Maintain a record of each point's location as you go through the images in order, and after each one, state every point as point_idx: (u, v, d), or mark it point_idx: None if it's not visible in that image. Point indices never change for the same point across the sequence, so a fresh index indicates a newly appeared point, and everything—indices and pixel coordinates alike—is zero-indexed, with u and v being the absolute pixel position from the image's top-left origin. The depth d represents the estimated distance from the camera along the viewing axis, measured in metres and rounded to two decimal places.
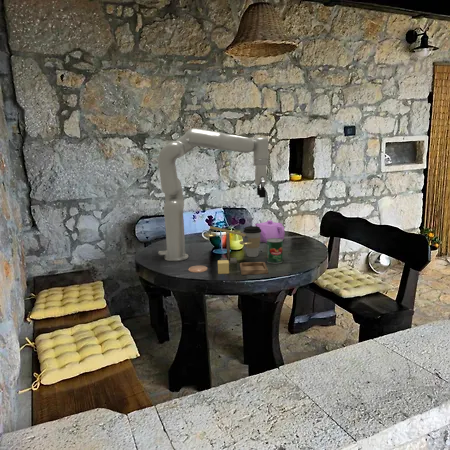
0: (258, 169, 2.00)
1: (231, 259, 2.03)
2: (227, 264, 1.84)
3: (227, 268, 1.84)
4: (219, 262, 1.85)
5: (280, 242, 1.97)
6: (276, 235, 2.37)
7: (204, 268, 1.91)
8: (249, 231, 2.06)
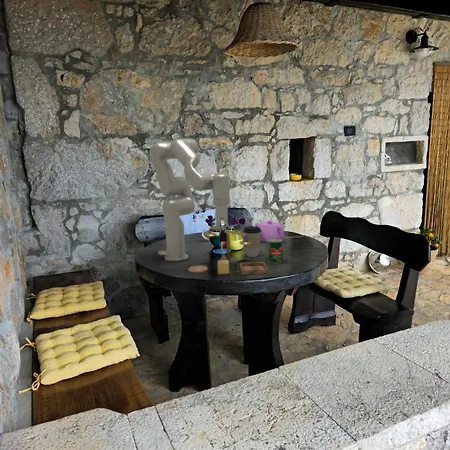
0: (217, 210, 1.77)
1: (231, 259, 2.03)
2: (227, 264, 1.84)
3: (227, 268, 1.84)
4: (219, 262, 1.85)
5: (280, 242, 1.97)
6: (276, 235, 2.37)
7: (204, 268, 1.91)
8: (249, 231, 2.06)
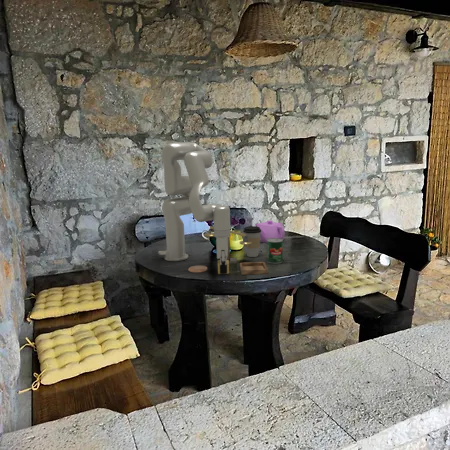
0: (218, 242, 1.80)
1: (231, 259, 2.03)
2: (227, 264, 1.84)
3: (227, 268, 1.84)
4: (219, 262, 1.85)
5: (280, 242, 1.97)
6: (276, 235, 2.37)
7: (204, 268, 1.91)
8: (249, 231, 2.06)
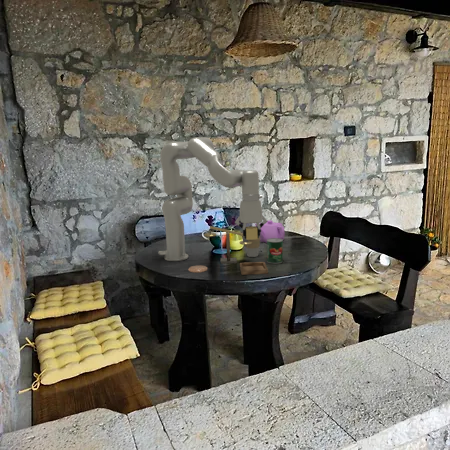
0: None
1: (231, 259, 2.03)
2: (246, 229, 1.82)
3: (246, 234, 1.83)
4: None
5: (280, 242, 1.97)
6: (276, 235, 2.37)
7: (204, 268, 1.91)
8: None
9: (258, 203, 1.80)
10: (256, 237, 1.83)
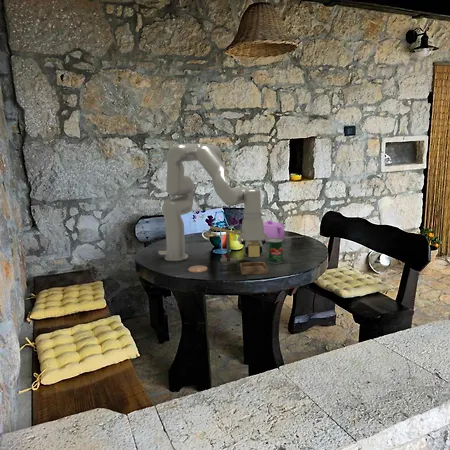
0: None
1: (231, 259, 2.03)
2: (248, 247, 1.84)
3: None
4: (251, 244, 1.88)
5: (280, 242, 1.97)
6: (276, 235, 2.37)
7: (204, 268, 1.91)
8: None
9: (260, 221, 1.82)
10: (258, 254, 1.84)
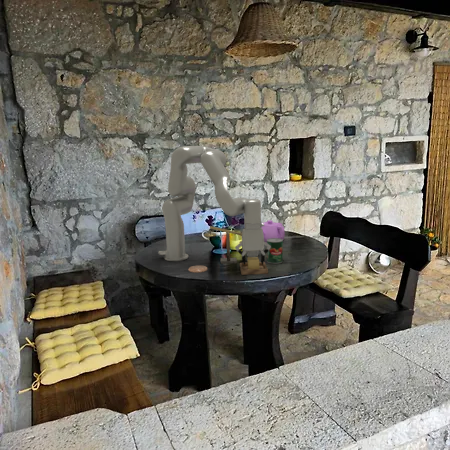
0: None
1: (231, 259, 2.03)
2: (248, 261, 1.86)
3: (248, 265, 1.86)
4: (250, 257, 1.89)
5: (280, 242, 1.97)
6: (276, 235, 2.37)
7: (204, 268, 1.91)
8: None
9: (260, 231, 1.83)
10: (258, 268, 1.86)
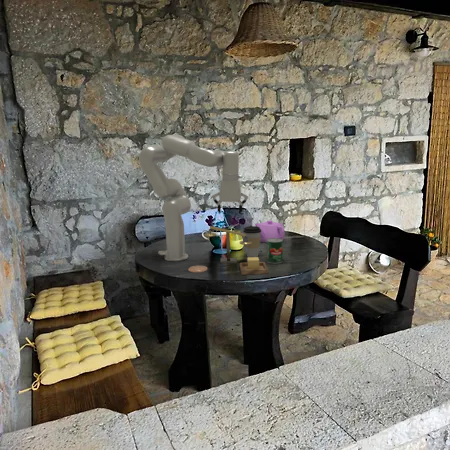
0: None
1: (231, 259, 2.03)
2: (248, 261, 1.86)
3: (248, 265, 1.86)
4: (250, 257, 1.89)
5: (280, 242, 1.97)
6: (276, 235, 2.37)
7: (204, 268, 1.91)
8: (249, 231, 2.06)
9: (237, 183, 1.89)
10: (258, 268, 1.86)
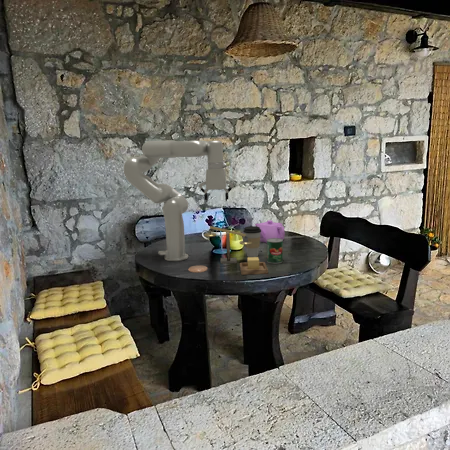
0: None
1: (231, 259, 2.03)
2: (248, 261, 1.86)
3: (248, 265, 1.86)
4: (250, 257, 1.89)
5: (280, 242, 1.97)
6: (276, 235, 2.37)
7: (204, 268, 1.91)
8: (249, 231, 2.06)
9: (222, 171, 1.96)
10: (258, 268, 1.86)
